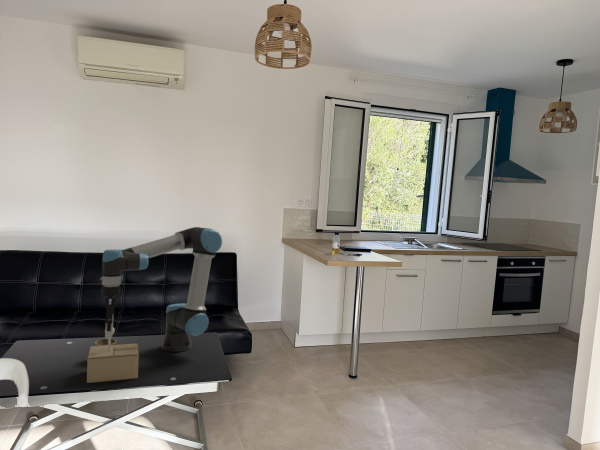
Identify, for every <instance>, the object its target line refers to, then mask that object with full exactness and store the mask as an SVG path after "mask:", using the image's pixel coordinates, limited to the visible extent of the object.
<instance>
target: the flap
mask: <svg viewBox="0 0 600 450" xmlns="http://www.w3.org/2000/svg"><path fill="white" fill-rule="evenodd" d="M114 334H115V328H114V326H113V328H112V336H113V335H114ZM107 339H108V345H107V346H96V345H91V346H90V348H89V351H88V355H89V356H87V359H88V358H100V357H113V352H114V345H111V339H112V338H107Z"/></svg>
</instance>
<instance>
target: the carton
mask: <svg viewBox="0 0 600 450" xmlns="http://www.w3.org/2000/svg"><path fill="white" fill-rule="evenodd" d="M88 356H89V354H88ZM88 356H87V361H86V362H87V367H86V369H87V370H86V384H87V383H89V384H90V383H101V382H109V381H110V382H113V381H121V380H131V379H138V378H139V357H140V355H139V345H138V343H126V344H115V347H114V352H113V357H100V358H88Z"/></svg>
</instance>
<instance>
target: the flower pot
mask: <svg viewBox="0 0 600 450" xmlns="http://www.w3.org/2000/svg"><path fill="white" fill-rule="evenodd" d="M117 341H118V340H117V339H115V338H111V345H114V347H115V345H117V344H116V343H117ZM94 344H95V346H107V345H108V338H107V339H105V338H102V339H97V340H96V341H95V342H94Z"/></svg>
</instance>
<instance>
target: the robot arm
mask: <svg viewBox="0 0 600 450" xmlns="http://www.w3.org/2000/svg"><path fill="white" fill-rule="evenodd" d="M222 239H223V238H222V236H221V234H220V232H219V231H217V230H216V229H213V228H210V227H209V228H208V227H200V226H195V227H194V226H193V227H189V228H187V229H184V230H180V231H177V232H175V233H174V235H173V234H172V235H169V236H166V237H163V238H159V239H156V240H155V239H154V240H152V241H149V242H146V243H142V244H137V245H135V246H131V247H128V248H125V249H112V248H111V249H106V250H104V251H103V254H102V259H101V260H102V270H101V271H102V274H101V275H102V277H100V280H101V285H102V286H101V295H102V296H107V297H105V310H106V314H105V321H104V322H103V324H105V329H104V333H105V335H104V339H108V338H111V339H113V335H112V328H113V327H114V315H116V311H115V310H114V309H115V305H116V300H117V299H116V297H115V296H119V295H120V294H121V283H122V272H127V271H141V270H146V269H147V268H148V267H149V261H150V260H149V259H151V258H154V257H158V256H161V255H164V254H167V253H171V252H174V251H177V250H180V251H183V250H188V249H192V254H193V256H194V259H193V267H192V270H191V271H192V272H191V278H190V284H189V287H188V288H189V289H188V295H187V301H186V303H185V302H184V303H173V304H169V305H167V307H166V310H165V334H164V336H163V339H162V342H161V349H162V350H163V351H165V352H172V353H178V352H184V351H188V350H190V349H191V348H192V340H191V337H190V336H194V337H195V336H196V337H197V336H200V335H202V334H203V333H205V331H206V330H207V329H208V326H209V322H210V321H209V320H210V319H209V317H208V315H207V314H206V313H207V308H206V306H205V303H206V302H205V301H206V295H207V289H208V285H209V284H208V283H209V277H210V270H211V265H212V259H214V258H215V257H216V255H217V254H216V253H217V252H218V251H219V250H220V249H221V247H222V244H223V240H222Z"/></svg>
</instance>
